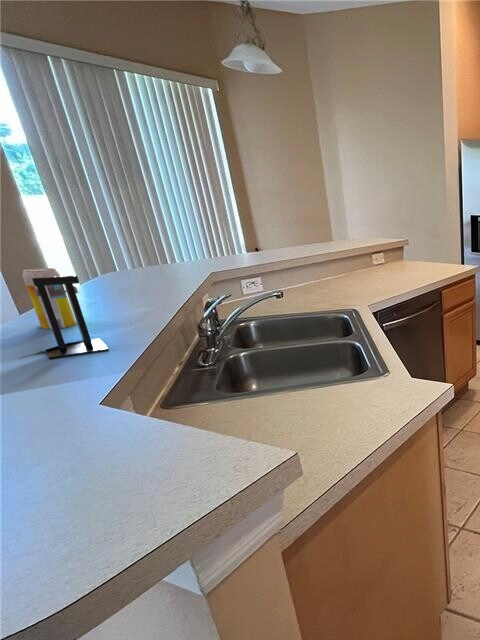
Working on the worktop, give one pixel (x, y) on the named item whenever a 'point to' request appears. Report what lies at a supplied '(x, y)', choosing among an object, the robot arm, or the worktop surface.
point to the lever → (56, 284)
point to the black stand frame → (87, 344)
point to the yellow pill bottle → (58, 304)
